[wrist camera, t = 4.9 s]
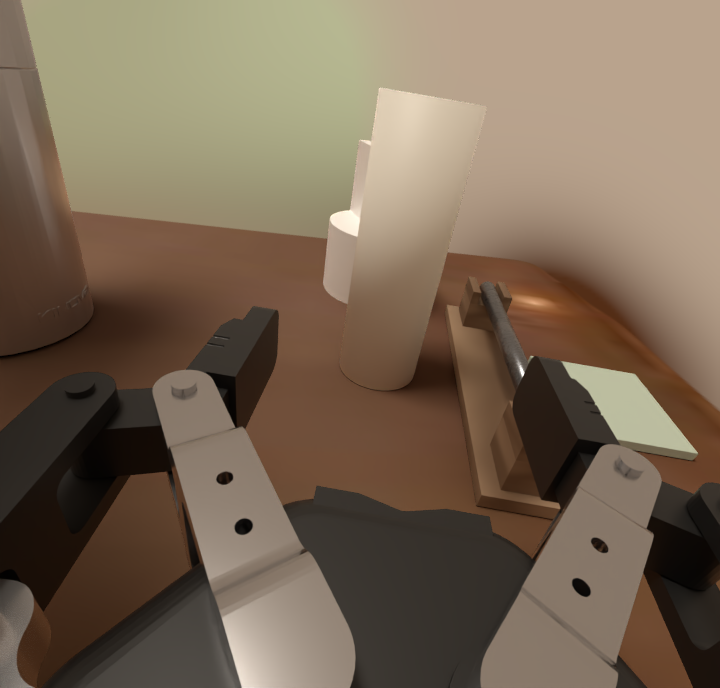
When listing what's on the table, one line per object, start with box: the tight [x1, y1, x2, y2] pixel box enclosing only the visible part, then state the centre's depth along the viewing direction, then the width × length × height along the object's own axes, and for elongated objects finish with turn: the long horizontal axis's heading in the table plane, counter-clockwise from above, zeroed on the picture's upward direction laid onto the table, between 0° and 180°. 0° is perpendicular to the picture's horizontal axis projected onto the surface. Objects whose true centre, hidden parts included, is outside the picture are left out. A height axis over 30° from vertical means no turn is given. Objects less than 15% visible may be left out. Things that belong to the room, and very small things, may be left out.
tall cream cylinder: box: [339, 88, 487, 391], centre depth 24 cm, size 5×5×16 cm
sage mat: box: [528, 356, 698, 461], centre depth 28 cm, size 8×8×1 cm
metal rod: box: [480, 282, 529, 391], centre depth 26 cm, size 1×18×1 cm, turn 174°
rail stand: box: [445, 277, 560, 519], centre depth 27 cm, size 5×20×4 cm, turn 174°
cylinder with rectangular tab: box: [323, 140, 371, 304], centre depth 35 cm, size 9×9×12 cm
